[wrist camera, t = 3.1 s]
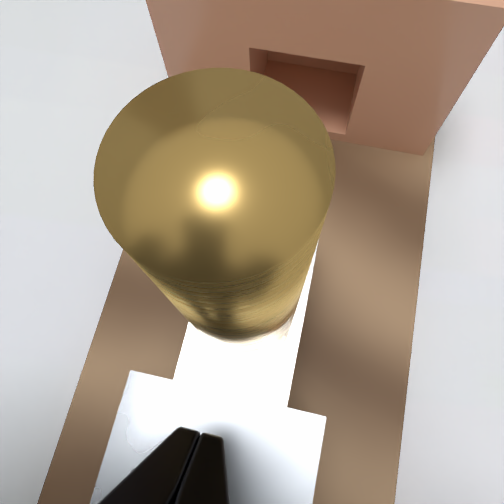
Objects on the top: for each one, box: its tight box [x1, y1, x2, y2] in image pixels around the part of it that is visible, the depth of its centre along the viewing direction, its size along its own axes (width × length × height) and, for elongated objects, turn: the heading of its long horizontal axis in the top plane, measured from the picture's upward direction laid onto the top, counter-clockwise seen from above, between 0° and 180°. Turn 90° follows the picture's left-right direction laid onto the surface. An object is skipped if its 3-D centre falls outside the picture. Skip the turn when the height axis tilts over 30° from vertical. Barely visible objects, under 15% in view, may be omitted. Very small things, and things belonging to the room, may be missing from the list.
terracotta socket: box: [146, 0, 504, 156], centre depth 16 cm, size 5×10×7 cm, turn 77°
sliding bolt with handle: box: [94, 68, 336, 407], centre depth 9 cm, size 14×3×11 cm, turn 167°
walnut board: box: [37, 137, 435, 504], centre depth 16 cm, size 28×11×1 cm, turn 167°
